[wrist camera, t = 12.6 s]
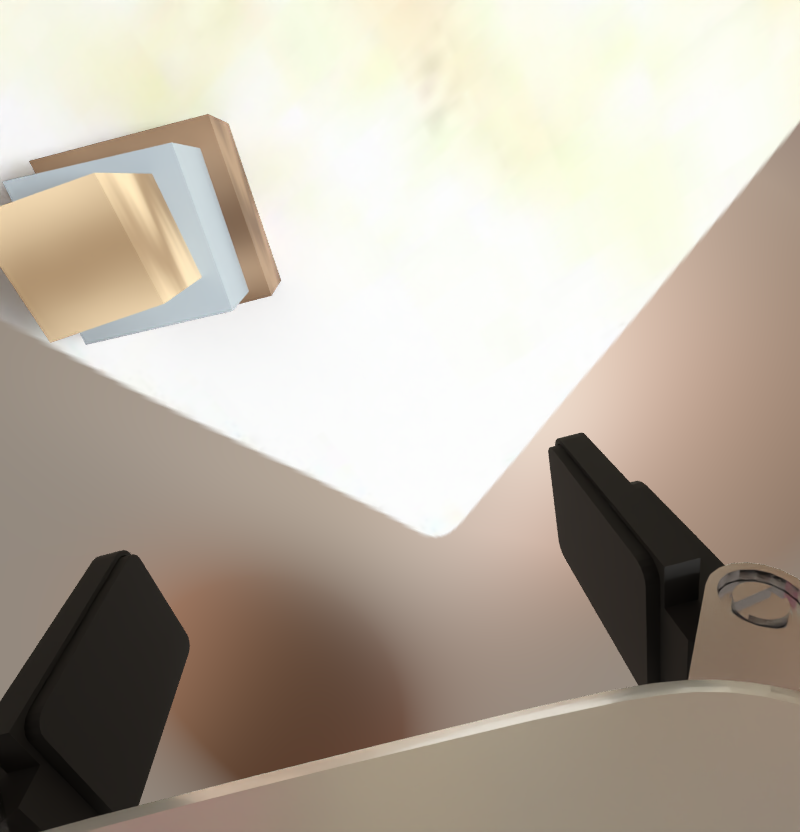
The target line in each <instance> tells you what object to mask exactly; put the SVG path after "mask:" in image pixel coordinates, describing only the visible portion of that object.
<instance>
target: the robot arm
mask: <svg viewBox="0 0 800 832" xmlns="http://www.w3.org/2000/svg"><path fill="white" fill-rule="evenodd" d="M548 453H549V462H550V471H551V479H552V487H553V496H554V505H555V513H556V521H557V530H558V538H559V544H560V548H561V550H562V553H563V555H564V557H565V559H566V561H567V563H568V564H569V566H570V568H571V570H572V571H573V573H574V575H575V576H576V578H577V580H578V582H579V583H580V585H581V587H582V588H583V590H584V592H585V594H586V595H587V597H588V599H589V600H590V602H591V604H592V606H593V607H594V609H595V611H596V613H597V615H598V616H599V618H600V620H601V621H602V623H603V625H604V627H605V628H606V630H607V632H608V633H609V635H610V637H611V639H612V640H613V642H614V644H615V646H616V647H617V649H618V651H619V652H620V654H621V656H622V658H623V659H624V661H625V663H626V665H627V666H628V668H629V670H630V671H631V673H632V675H633V677H634V678H635V680H636V682H637V684H638V685H639V686H634V687H628V688H622V689H617V690H611V691H605V692H601V693H596V694H592V695H588V696H583V697H579V698H574V699H570V700H565V701H561V702H556V703H553V704H548V705H543V706H539V707H535V708H530V709H525V710H521V711H517V712H512V713H509V714H504V715H500V716H496V717H492V718H488V719H484V720H480V721H476V722H472V723H468V724H463V725H459V726H455V727H451V728H447V729H443V730H439V731H435V732H430V733H426V734H423V735H418V736H414V737H410V738H406V739H402V740H398V741H394V742H389V743H385V744H382V745H377V746H373V747H369V748H365V749H361V750H357V751H353V752H349V753H345V754H341V755H337V756H334V757H329V758H325V759H321V760H317V761H313V762H309V763H305V764H301V765H297V766H293V767H289V768H285V769H281V770H277V771H273V772H269V773H265V774H261V775H257V776H253V777H249V778H245V779H241V780H237V781H233V782H229V783H225V784H222V785H217V786H213V787H210V788H206V789H202V790H198V791H194V792H190V793H186V794H182V795H178V796H175V797H171V798H167V799H163V800H159V801H155V802H151V803H147V804H143V805H139V802H140V799H141V796H142V793H143V790H144V787H145V784H146V781H147V778H148V775H149V772H150V769H151V766H152V763H153V760H154V757H155V754H156V751H157V748H158V745H159V742H160V739H161V736H162V732H163V729H164V726H165V723H166V720H167V717H168V714H169V711H170V708H171V705H172V702H173V699H174V696H175V693H176V690H177V687H178V684H179V681H180V678H181V675H182V672H183V669H184V666H185V663H186V659H187V657H188V653H189V647H190V645H189V638H188V636H187V634H186V632H185V631H184V629H183V627H182V626H181V624H180V622H179V621H178V619H177V618H176V616H175V614H174V613H173V611H172V609H171V608H170V606H169V605H168V603H167V602H166V600H165V598H164V597H163V595H162V593H161V592H160V590H159V589H158V587H157V585H156V584H155V582H154V580H153V579H152V577H151V576H150V574H149V572H148V571H147V569H146V568H145V566H144V564H143V563H142V561H141V560H140V558H139V557H138V556H137V555H131V554H130V553H129V552H128V551H125V550H123V551H118V552H114V553H111V554H106V555H103V556H99V557H97V558H95V559H94V560H93V561H92V563H91V564H90V566H89V567H88V569H87V571H86V572H85V574H84V575H83V577H82V578H81V580H80V581H79V583H78V584H77V586H76V587H75V589H74V590H73V592H72V593H71V595H70V596H69V598H68V599H67V601H66V602H65V604H64V605H63V607H62V608H61V610H60V612H59V613H58V615H57V616H56V618H55V619H54V621H53V622H52V624H51V625H50V627H49V628H48V630H47V631H46V633H45V634H44V636H43V637H42V639H41V640H40V642H39V643H38V645H37V646H36V648H35V650H34V651H33V653H32V654H31V656H30V657H29V659H28V660H27V662H26V663H25V665H24V666H23V668H22V669H21V671H20V672H19V674H18V675H17V677H16V679H15V680H14V681H13V683H12V684H11V686H10V687H9V689H8V690H7V692H6V694H5V695H4V697H3V698H2V700H1V701H0V832H800V580H799V579H798V578H796V577H794V576H792V575H790V574H788V573H786V572H784V571H782V570H780V569H777V568H774V567H770V566H767V565H763V564H755V563H748V562H745V563H731V564H728V565H724V564H723V563H722V562H721V561H720V560H719V559H718V558H717V557H716V556H715V555H714V554H713V553H712V552H711V551H710V550H709V549H708V548H707V547H706V546H705V545H704V544H703V543H702V542H701V541H700V540H699V539H698V538H697V536H696V535H695V534H693V532H692V531H691V530H690V529H689V528H688V527H687V526H686V525H685V524H684V523H683V522H682V521H681V520H680V519H679V518H678V517H677V516H676V515H675V514H674V513H673V512H672V511H671V510H670V509H669V508H668V507H667V506H666V505H665V504H664V503H663V502H662V501H661V500H660V499H659V498H658V497H657V496H656V495H655V494H654V493H653V492H652V491H651V490H650V489H649V488H648V486H646V485H645V484H644V483H642V482H640V481H635V482H631V483H630V482H629V481H628V480H627V479H626V478H625V477H624V476H623V474H622V473H620V471H619V470H618V469H617V468H616V467H615V466H614V465H613V464H612V463H611V462H610V461H609V460H608V458H606V456H605V455H604V454H603V453H602V452H601V451H600V450H599V449H598V448H597V447H596V446H595V445H594V444H593V443H592V441H591V440H590V439H589V438H588V437H587V436H586V435H585V434H584V433H578V434H574V435H570V436H566V437H562V438H558V439H557V440H556V443H555V446H554V447H550V448H549V450H548ZM138 805H139V806H138Z"/></svg>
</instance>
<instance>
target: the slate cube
mask: <svg viewBox="0 0 800 832" xmlns="http://www.w3.org/2000/svg"><path fill="white" fill-rule="evenodd" d="M92 173H143V174H152V175H153V177H154V179H155V181H156V183H157V185H158V187H159V189H160V191H161V193H162V195H163V197H164V199H165V202H166V204H167V206H168V208H169V210H170V212H171V214H172V216H173V218H174V220H175V222H176V224H177V226H178V228H179V230H180V233H181V235H182V237H183V239H184V241H185V243H186V245H187V247H188V249H189V251H190V253H191V255H192V257H193V259H194V262H195V264H196V266H197V268H198V270H199V272H200V274H201V276H202V278H200V279H199V280H197V281H196V282H195V283H193V284H192V285H190V286H189V287H187V288H186V289H185V290H183V291H182V292H180V293H179V294H177V295H176V296H175V297H173V298H172V299H170V300H169V301H167V302H166V303H165V304H162V305H159V306H157V307H154V308H151V309H148V310H145V311H142V312H139V313H136V314H133V315H130V316H127V317H124V318H121V319H118V320H116V321H113V322H110V323H107V324H104V325H101V326H98V327H95V328H92V329H89V330H86V331H83V332H80V334H81V336H82V338H83V340H84V342H85V344H86V345H87V344H91V343H96V342H100V341H104V340H109V339H113V338H117V337H122V336H126V335H130V334H135V333H139V332H143V331H148V330H152V329H156V328H160V327H165V326H169V325H173V324H178V323H182V322H186V321H191V320H195V319H199V318H204V317H208V316H212V315H217V314H221V313H225V312H230V311H233V310H234V309H235V307H236V306H237V305H238V304H239V303H240V302H241V300H242V299H243V298H244V297H245V296H246V294H247V293H248V292H249V290H248V287H247V284H246V281H245V278H244V275H243V272H242V269H241V267H240V264H239V261H238V258H237V255H236V252H235V249H234V246H233V243H232V240H231V237H230V234H229V231H228V228H227V225H226V223H225V220H224V217H223V214H222V211H221V208H220V205H219V202H218V199H217V196H216V193H215V190H214V187H213V184H212V182H211V179H210V176H209V173H208V170H207V167H206V164H205V161H204V158H203V155H202V152H201V149H200V148H197V147H192V146H187V145H182V144H177V143H172V142H171V143H167V144H163V145H158V146H154V147H150V148H145V149H141V150H137V151H132V152H128V153H124V154H119V155H115V156H111V157H106V158H102V159H98V160H94V161H89V162H85V163H81V164H76V165H72V166H68V167H63V168H59V169H55V170H50V171H46V172H42V173H37V174H33V175H29V176H24V177H20V178H16V179H11V180H7V181H3V184H4V186H5V188H6V190H7V192H8V194H9V196H10V198H11V200H12V202H13V201H16V200H19V199H22V198H25V197H27V196H30V195H33V194H36V193H39V192H41V191H44V190H47V189H50V188H53V187H56V186H58V185H61V184H64V183H67V182H70V181H72V180H75V179H78V178H81V177H84V176H86V175H89V174H92Z"/></svg>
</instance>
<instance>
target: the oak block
mask: <svg viewBox="0 0 800 832" xmlns="http://www.w3.org/2000/svg"><path fill="white" fill-rule="evenodd" d="M0 267H1V269H2V270H3V272H4V273H5V275H6V276H7V278H8V279H9V281H10V282H11V284H12V285H13V287H14V288H15V290H16V291H17V293H18V294H19V296H20V298H21V299H22V301H23V302H24V304H25V305H26V307H27V308H28V310H29V311H30V313H31V314H32V316H33V317H34V319H35V320H36V322H37V323H38V325H39V326H40V328H41V329H42V331H43V332H44V334H45V335H46V337H47V338H48V340H49V341H50V343H51V342H54V341H57V340H60V339H63V338H66V337H69V336H72V335H75V334H77V333H80V332H83V331H86V330H89V329H92V328H95V327H98V326H101V325H104V324H107V323H110V322H113V321H116V320H118V319H121V318H124V317H127V316H130V315H133V314H136V313H139V312H142V311H145V310H148V309H151V308H154V307H157V306H159V305H162V304H165V303H166V302H167V301H169V300H170V299H172V298H173V297H175V296H176V295H177V294H179V293H180V292H182V291H183V290H185V289H186V288H187V287H189V286H190V285H192V284H193V283H195V282H196V281H197V280H199V279H200V278H202V276H201V274H200V272H199V270H198V268H197V266H196V264H195V262H194V259H193V257H192V255H191V253H190V251H189V249H188V247H187V245H186V243H185V241H184V239H183V237H182V235H181V233H180V230H179V228H178V226H177V224H176V222H175V220H174V218H173V216H172V214H171V212H170V210H169V208H168V206H167V204H166V202H165V199H164V197H163V195H162V193H161V191H160V189H159V187H158V185H157V183H156V181H155V179H154V177H153V175H152V174H143V173H92V174H89V175H86V176H84V177H81V178H78V179H75V180H72V181H70V182H67V183H64V184H61V185H58V186H56V187H53V188H50V189H47V190H44V191H41V192H39V193H36V194H33V195H30V196H27V197H25V198H22V199H19V200H16V201H13V202H11V203H8V204H5V205H2V206H0Z"/></svg>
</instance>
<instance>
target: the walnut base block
mask: <svg viewBox="0 0 800 832" xmlns="http://www.w3.org/2000/svg"><path fill="white" fill-rule="evenodd" d="M171 142H172V143H177V144H182V145H187V146H192V147H197V148H200V149H201V152H202V155H203V158H204V161H205V164H206V167H207V170H208V173H209V176H210V179H211V182H212V184H213V187H214V190H215V193H216V196H217V199H218V202H219V205H220V208H221V211H222V214H223V217H224V220H225V223H226V225H227V228H228V231H229V234H230V237H231V240H232V243H233V246H234V249H235V252H236V255H237V258H238V261H239V264H240V267H241V269H242V272H243V275H244V278H245V281H246V284H247V287H248V290H249V292H248V293H247V294H246V296H245V297H244V298H243V299H242V300H241V302H240V303H239V304H241V303H245V302H249V301H253V300H257V299H260V298H264V297H268V296H272V294H273V292H274V291H275V289H276V288H277V286H278V284H279V283H280V281H281V279H280V276H279V273H278V270H277V267H276V264H275V261H274V258H273V255H272V252H271V249H270V246H269V243H268V240H267V237H266V234H265V231H264V228H263V225H262V222H261V219H260V216H259V213H258V210H257V207H256V204H255V201H254V198H253V196H252V193H251V190H250V187H249V184H248V181H247V178H246V175H245V172H244V169H243V166H242V163H241V160H240V157H239V154H238V151H237V148H236V145H235V142H234V139H233V136H232V133H231V130H230V127H229V124H228V123H226V122H224V121H222V120H220V119H218V118H215V117H213V116H211V115H209V114H207V115H203V116H199V117H195V118H191V119H188V120H184V121H180V122H176V123H172V124H169V125H165V126H161V127H157V128H153V129H149V130H146V131H142V132H138V133H134V134H130V135H127V136H123V137H119V138H115V139H111V140H108V141H104V142H100V143H96V144H92V145H89V146H85V147H81V148H77V149H73V150H70V151H66V152H62V153H58V154H54V155H51V156H47V157H43V158H39V159H35V160H31V161H29V162H30V164H31V166H32V167H33V169H34V171H35V173H36V174H37V173H42V172H46V171H50V170H55V169H59V168H63V167H68V166H72V165H76V164H81V163H85V162H89V161H94V160H98V159H102V158H106V157H111V156H115V155H119V154H124V153H128V152H132V151H137V150H141V149H145V148H150V147H154V146H158V145H163V144H167V143H171Z"/></svg>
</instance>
